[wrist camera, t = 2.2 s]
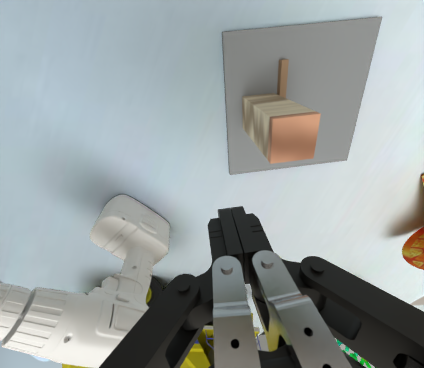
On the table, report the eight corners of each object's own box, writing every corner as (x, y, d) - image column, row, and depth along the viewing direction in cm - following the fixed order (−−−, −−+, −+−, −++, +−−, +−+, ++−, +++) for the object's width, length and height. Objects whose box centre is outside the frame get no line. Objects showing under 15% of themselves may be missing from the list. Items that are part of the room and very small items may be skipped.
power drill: (80, 159, 38) (-58, 297, 16) (185, 230, 48) (186, 371, 27) (54, 190, 40) (-95, 346, 19) (160, 251, 51) (141, 397, 29)
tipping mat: (221, 32, 31) (224, 31, 29) (376, 17, 32) (389, 15, 30) (229, 172, 42) (231, 178, 40) (343, 158, 43) (350, 162, 41)
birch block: (242, 96, 34) (272, 119, 22) (273, 93, 35) (320, 113, 23) (242, 128, 37) (270, 163, 25) (272, 124, 37) (313, 158, 25)
